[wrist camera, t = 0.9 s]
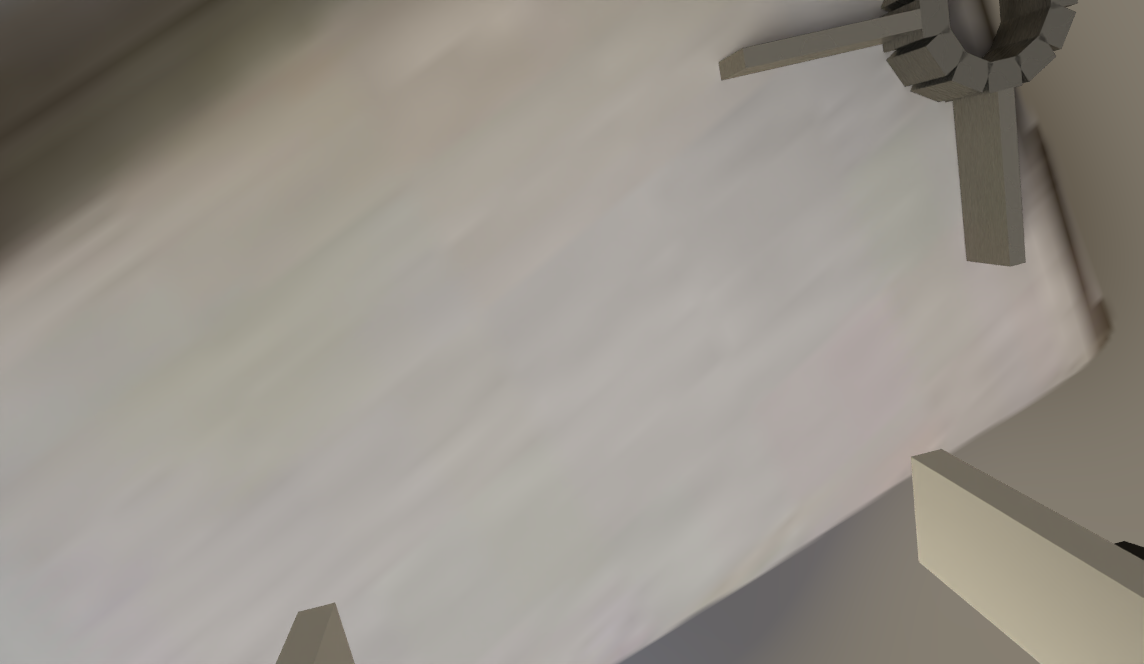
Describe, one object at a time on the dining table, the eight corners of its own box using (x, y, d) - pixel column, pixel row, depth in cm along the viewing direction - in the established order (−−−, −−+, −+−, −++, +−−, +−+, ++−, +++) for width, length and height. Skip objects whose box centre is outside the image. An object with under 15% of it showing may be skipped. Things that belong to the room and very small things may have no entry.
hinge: (705, -15, 36) (729, -37, 32) (1019, -82, 37) (1072, -110, 34) (760, 314, 40) (785, 325, 37) (1038, 242, 42) (1087, 246, 38)
